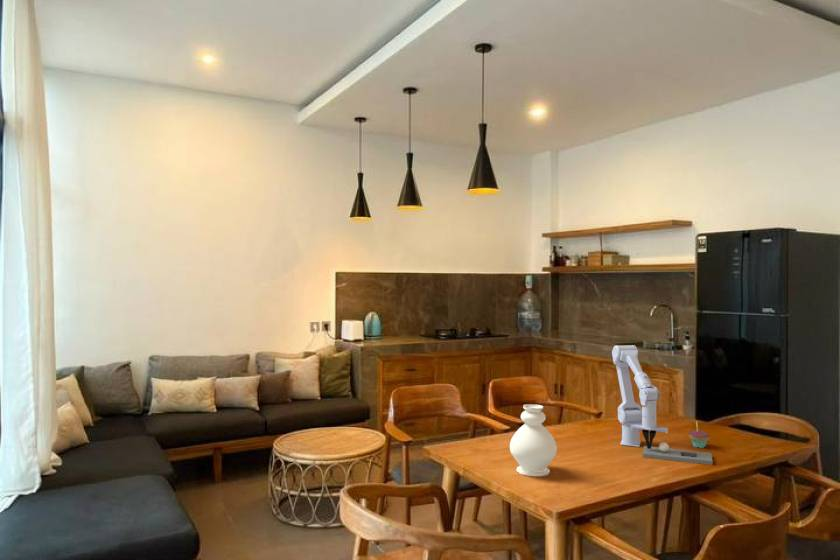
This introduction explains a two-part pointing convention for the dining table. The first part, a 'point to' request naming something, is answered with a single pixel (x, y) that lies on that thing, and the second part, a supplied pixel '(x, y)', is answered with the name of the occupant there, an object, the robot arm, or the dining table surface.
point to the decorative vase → (533, 443)
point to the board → (678, 455)
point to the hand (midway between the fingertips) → (649, 448)
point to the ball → (663, 447)
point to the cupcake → (699, 437)
